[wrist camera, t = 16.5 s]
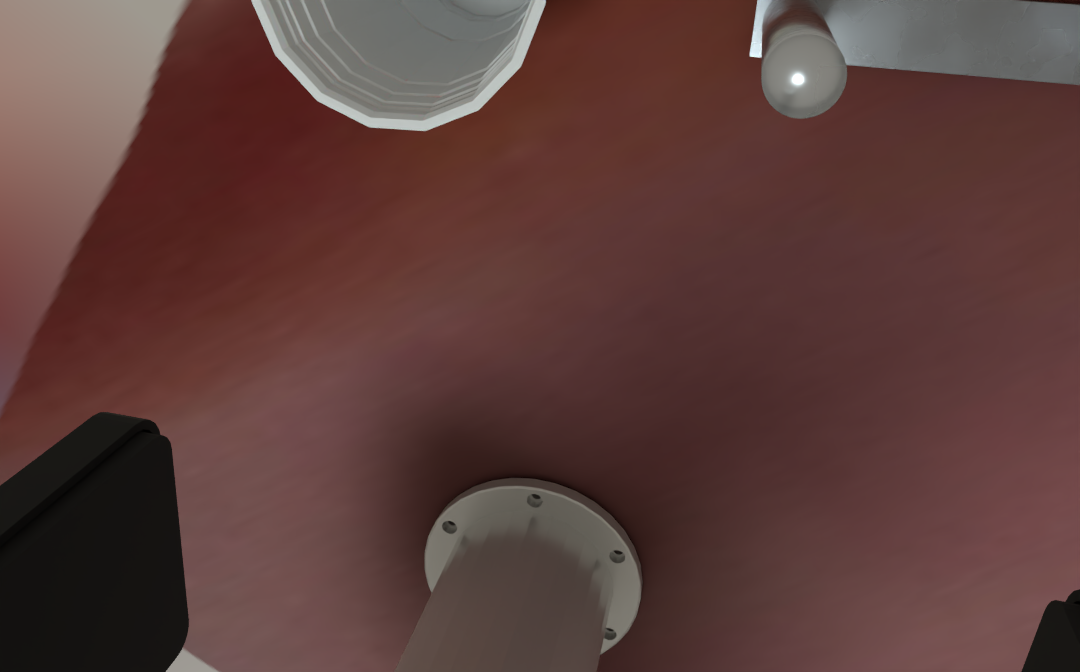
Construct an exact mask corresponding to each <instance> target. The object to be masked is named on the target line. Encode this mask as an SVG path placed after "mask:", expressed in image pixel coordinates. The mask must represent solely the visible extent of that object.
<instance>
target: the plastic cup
mask: <svg viewBox="0 0 1080 672" xmlns="http://www.w3.org/2000/svg"><path fill="white" fill-rule="evenodd" d="M251 1H252V3H253V5H254V8H255V10H256V12H257V14H258V17H259V19H260V21H261V24H262V26H263V28H264V30H265V33H266V35H267V37H268V39H269V42H270V44H271V46H272V49H273V51H274V53H275V55H276V56H277V57H278V59H279V60H280V61H281V62H282V63H283V64H284V65H285V66H286V67H287V68H288V69H289V71H290V72H291V73H292V74H293V75H294V76H295V77H296V78H297V79H298V80H299V81H300V83H301V84H302V85H303V86H304V87H305V88H306V89H307V90H308V91H309V92H310V94H311V95H312V96H313V97H314V98H315V99H316V100H317V101H319V102H320V103H322V104H324V105H326V106H328V107H330V108H332V109H334V110H336V111H338V112H340V113H342V114H344V115H346V116H348V117H350V118H352V119H354V120H356V121H358V122H360V123H362V124H364V125H366V126H368V127H373V128H388V129H404V130H419V131H426V130H429V129H432V128H434V127H437V126H439V125H442V124H444V123H447V122H450V121H452V120H455V119H457V118H460V117H462V116H465V115H468V114H470V113H473V112H475V111H478V110H479V109H480V108H481V107H482V106H483V105H484V104H485V103H486V102H487V101H488V100H489V99H490V98H491V97H492V96H493V95H494V94H495V93H496V92H497V91H498V90H499V89H500V88H501V87H502V86H503V85H504V83H505V82H506V81H507V80H508V79H509V78H510V77H511V76H512V75H513V74H514V73H515V72H516V71H517V70H518V69H519V68H520V67H521V65H522V63H523V60H524V58H525V55H526V53H527V50H528V47H529V45H530V42H531V40H532V37H533V35H534V32H535V30H536V27H537V25H538V22H539V20H540V17H541V15H542V12H543V9H544V7H545V4H546V0H251Z"/></svg>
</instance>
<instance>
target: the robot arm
mask: <svg viewBox="0 0 1080 672" xmlns="http://www.w3.org/2000/svg"><path fill="white" fill-rule="evenodd" d="M424 569H425V574H426V578H427V583H428V586H429V589H430V591H431V593H432V594H431V596H430V598H429V600H428V602H427V604H426V606H425V608H424V610H423V612H422V615H421V617H420V619H419V621H418V623H417V625H416V627H415V629H414V631H413V633H412V636H411V638H410V640H409V642H408V644H407V646H406V648H405V650H404V652H403V654H402V656H401V659H400V661H399V663H398V665H397V667H396V669H395V671H394V672H597V667H598V663H599V658H600V655H601V654H603V653H604V652H606V651H607V650H609V649H610V648H612V647H613V646H614V645H616V644H617V643H618V642H619V641H620V640H621V639H622V638H623V637H624V635H625V634H626V633H627V632H628V631H629V629H630V627H631V625H632V624H633V622H634V620H635V618H636V616H637V612H638V608H639V604H640V600H641V592H642V584H643V581H642V572H641V564H640V561H639V559H638V556H637V553H636V550H635V547H634V545H633V544H632V542H631V540H630V539H629V537H628V535H627V534H626V532H625V530H624V529H623V528H622V527H621V526H620V525H619V524H618V522H617V521H616V520H615V519H614V518H613V517H612V516H611V515H610V514H609V513H608V512H607V511H605V510H604V509H603V508H602V507H600V506H599V505H598V504H597V503H596V502H594V501H592V500H591V499H589V498H587V497H585V496H584V495H582V494H580V493H578V492H577V491H575V490H572V489H569V488H567V487H564V486H561V485H559V484H556V483H552V482H547V481H542V480H538V479H530V478H507V479H499V480H492V481H489V482H486V483H483V484H480V485H477V486H474V487H472V488H470V489H468V490H467V491H465V492H463V493H461V494H460V495H458V496H457V497H456V498H455V499H453V500H452V501H451V502H450V503H449V504H448V505H447V506H446V507H445V508H444V510H443V511H442V512H441V514H440V515H439V517H438V518H437V520H436V521H435V524H434V526H433V528H432V530H431V532H430V534H429V536H428V540H427V544H426V548H425V552H424ZM188 627H189V619H188V608H187V598H186V588H185V578H184V568H183V558H182V548H181V537H180V527H179V517H178V507H177V497H176V487H175V477H174V466H173V456H172V448H171V443H170V441H169V440H168V438H167V437H165V436H163V435H160V431H159V429H158V427H157V425H156V424H155V423H154V422H152V421H151V420H147V419H142V418H136V417H131V416H125V415H120V414H114V413H109V412H100V413H98V414H96V415H94V416H92V417H91V418H90V419H88V420H87V421H86V422H84V423H83V424H82V425H80V426H79V427H78V428H76V429H75V430H74V431H72V432H71V433H70V434H68V435H67V436H66V437H64V438H63V439H62V440H60V441H59V442H58V443H56V444H55V445H54V446H52V447H51V448H50V449H48V450H47V451H46V452H44V453H43V454H42V455H40V456H39V457H38V458H36V459H35V460H34V461H32V462H31V463H30V464H29V465H27V466H26V467H25V468H23V469H22V470H21V471H19V472H18V473H17V474H15V475H14V476H13V477H11V478H10V479H9V480H7V481H6V482H5V483H3V484H2V485H1V486H0V672H166V670H167V669H168V668H169V666H170V665H171V664H172V663H173V661H174V660H175V659H176V657H177V656H178V655H179V653H180V651H181V650H182V647H183V645H184V643H185V640H186V637H187V633H188ZM1022 672H1080V590H1076V591H1073V592H1072V593H1071V594H1070V595H1069V596H1068V598H1067V600H1066V602H1062V601H1057V600H1055V601H1051V602H1050V603H1049V604H1048V605H1047V607H1046V609H1045V611H1044V614H1043V616H1042V619H1041V622H1040V624H1039V627H1038V630H1037V632H1036V635H1035V638H1034V640H1033V643H1032V645H1031V648H1030V651H1029V653H1028V656H1027V659H1026V661H1025V664H1024V667H1023V669H1022Z"/></svg>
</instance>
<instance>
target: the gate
mask: <svg viewBox="0 0 1080 672" xmlns="http://www.w3.org/2000/svg"><path fill="white" fill-rule="evenodd" d="M750 57H761V58H762V88H763V92H764V95H765V97H766V99H767V100H768V102H769V103H770V105H771V106H772V107H773V108H774V109H776V110H777V111H778V112H780V113H781V114H783V115H786V116H789V117H792V118H810V117H814V116H817V115H819V114H821V113H823V112H825V111H826V110H828V109H829V108H830V107H832V106H833V105H834V104H835V103H836V102H837V100H838V99H839V97H840V96H841V94H842V92H843V90H844V88H845V84H846V80H847V67H846V65H854V66H865V67H877V68H889V69H900V70H912V71H924V72H935V73H947V74H958V75H970V76H982V77H993V78H1005V79H1017V80H1028V81H1040V82H1051V83H1063V84H1075V85H1080V4H1074V3H1061V2H1047V1H1033V0H758V1H757V8H756V15H755V22H754V29H753V36H752V43H751V50H750Z"/></svg>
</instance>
